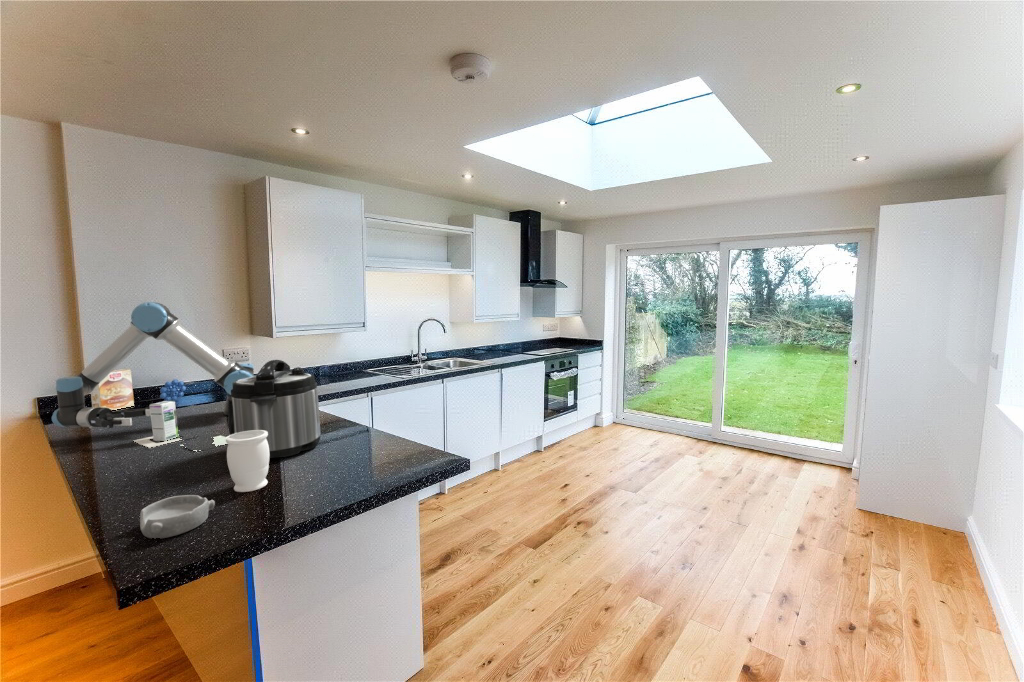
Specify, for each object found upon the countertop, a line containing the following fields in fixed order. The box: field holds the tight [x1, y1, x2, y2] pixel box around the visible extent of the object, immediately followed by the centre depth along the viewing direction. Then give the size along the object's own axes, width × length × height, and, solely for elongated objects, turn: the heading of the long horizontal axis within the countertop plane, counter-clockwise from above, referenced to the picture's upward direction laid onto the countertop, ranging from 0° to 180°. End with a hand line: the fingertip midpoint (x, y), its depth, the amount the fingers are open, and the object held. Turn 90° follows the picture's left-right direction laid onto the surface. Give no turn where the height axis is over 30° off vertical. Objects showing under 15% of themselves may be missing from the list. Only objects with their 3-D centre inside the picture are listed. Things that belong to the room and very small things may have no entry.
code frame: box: [132, 435, 182, 449], centre depth 180 cm, size 16×16×1 cm
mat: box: [179, 434, 228, 453], centre depth 172 cm, size 14×14×1 cm
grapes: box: [159, 378, 187, 403], centre depth 250 cm, size 12×7×12 cm, turn 133°
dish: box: [139, 494, 216, 540], centre depth 110 cm, size 14×14×5 cm
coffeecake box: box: [90, 368, 135, 411], centre depth 233 cm, size 15×7×20 cm, turn 161°
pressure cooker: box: [227, 359, 321, 459], centre depth 163 cm, size 30×28×32 cm
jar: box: [225, 430, 270, 493], centre depth 131 cm, size 11×10×15 cm
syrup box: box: [149, 400, 180, 442], centre depth 179 cm, size 6×6×14 cm
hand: (146, 417), depth 179 cm, fingers open, 13 cm apart
